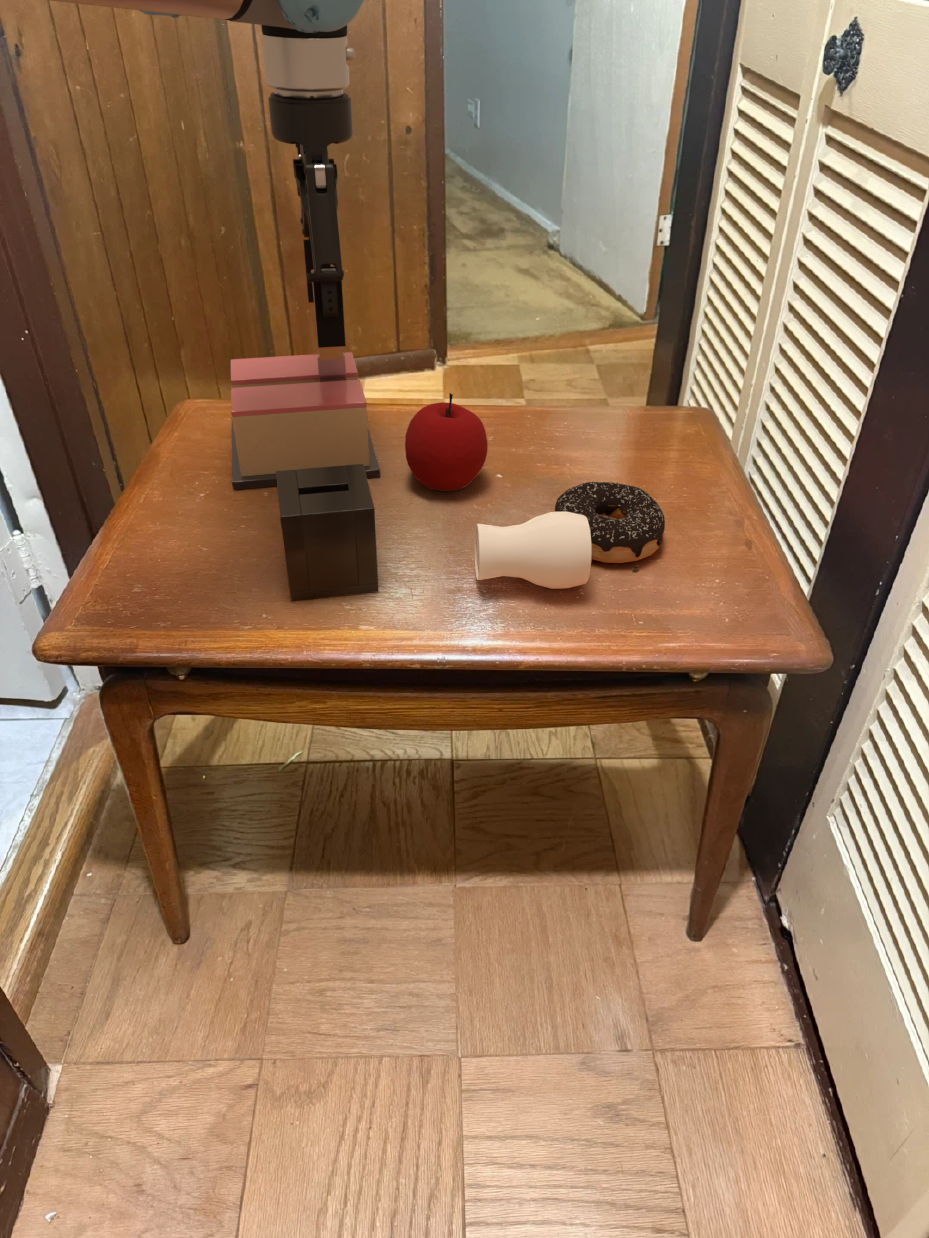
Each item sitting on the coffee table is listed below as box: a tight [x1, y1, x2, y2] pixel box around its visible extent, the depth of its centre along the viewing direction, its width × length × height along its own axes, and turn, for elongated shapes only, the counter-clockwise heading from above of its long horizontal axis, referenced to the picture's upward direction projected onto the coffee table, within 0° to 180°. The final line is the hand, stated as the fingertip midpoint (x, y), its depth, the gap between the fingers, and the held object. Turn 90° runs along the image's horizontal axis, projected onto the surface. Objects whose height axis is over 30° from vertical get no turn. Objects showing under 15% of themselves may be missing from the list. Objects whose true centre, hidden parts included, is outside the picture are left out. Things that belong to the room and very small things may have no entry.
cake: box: [230, 351, 381, 491], centre depth 98 cm, size 16×16×9 cm
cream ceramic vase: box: [474, 511, 592, 590], centre depth 79 cm, size 7×7×10 cm
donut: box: [553, 481, 666, 564], centre depth 87 cm, size 11×12×4 cm
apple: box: [404, 392, 488, 492], centre depth 93 cm, size 9×9×10 cm
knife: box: [311, 270, 346, 382], centre depth 95 cm, size 3×2×19 cm, turn 102°
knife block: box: [276, 464, 380, 602], centre depth 79 cm, size 8×8×9 cm
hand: (325, 322), depth 92 cm, fingers open, 13 cm apart
